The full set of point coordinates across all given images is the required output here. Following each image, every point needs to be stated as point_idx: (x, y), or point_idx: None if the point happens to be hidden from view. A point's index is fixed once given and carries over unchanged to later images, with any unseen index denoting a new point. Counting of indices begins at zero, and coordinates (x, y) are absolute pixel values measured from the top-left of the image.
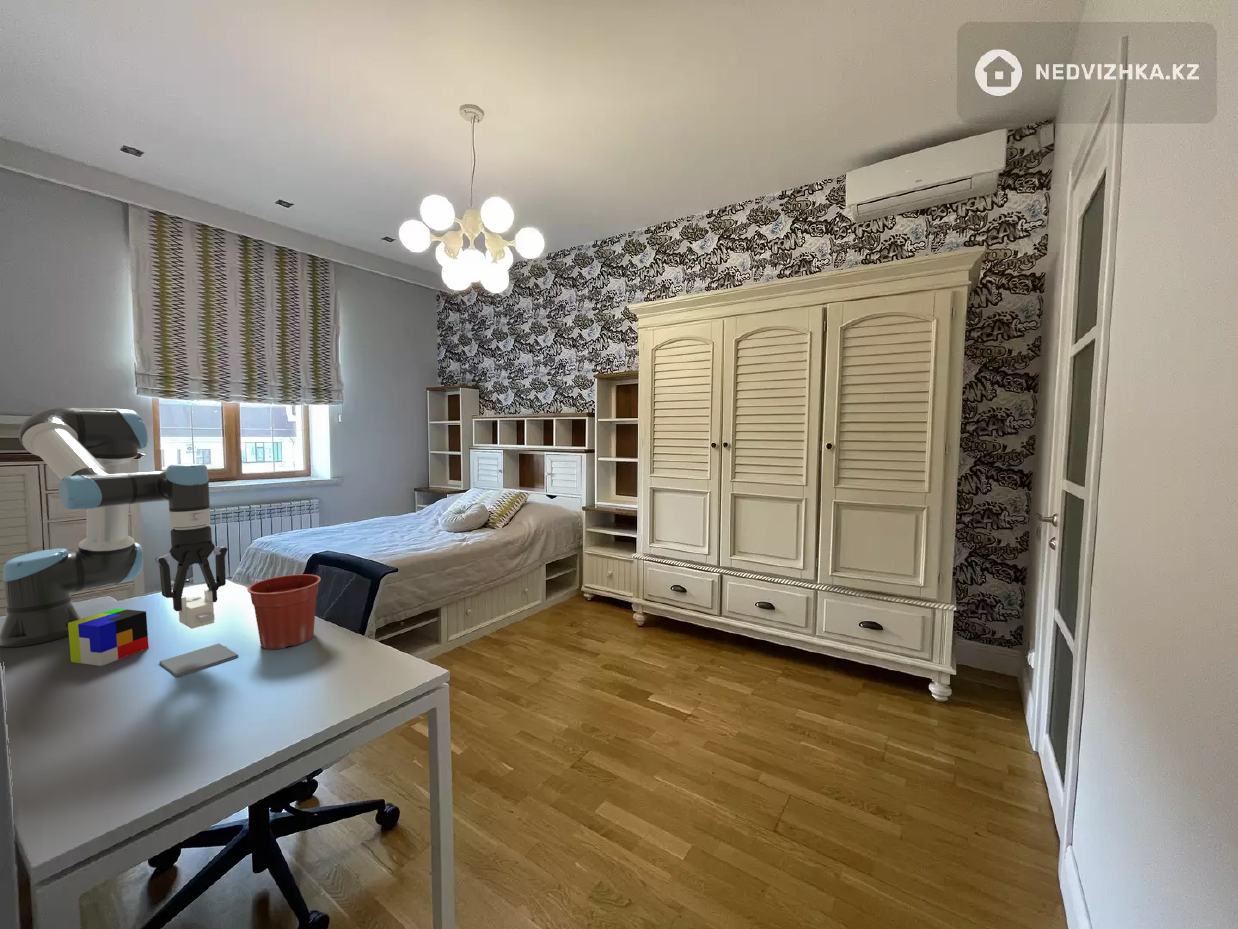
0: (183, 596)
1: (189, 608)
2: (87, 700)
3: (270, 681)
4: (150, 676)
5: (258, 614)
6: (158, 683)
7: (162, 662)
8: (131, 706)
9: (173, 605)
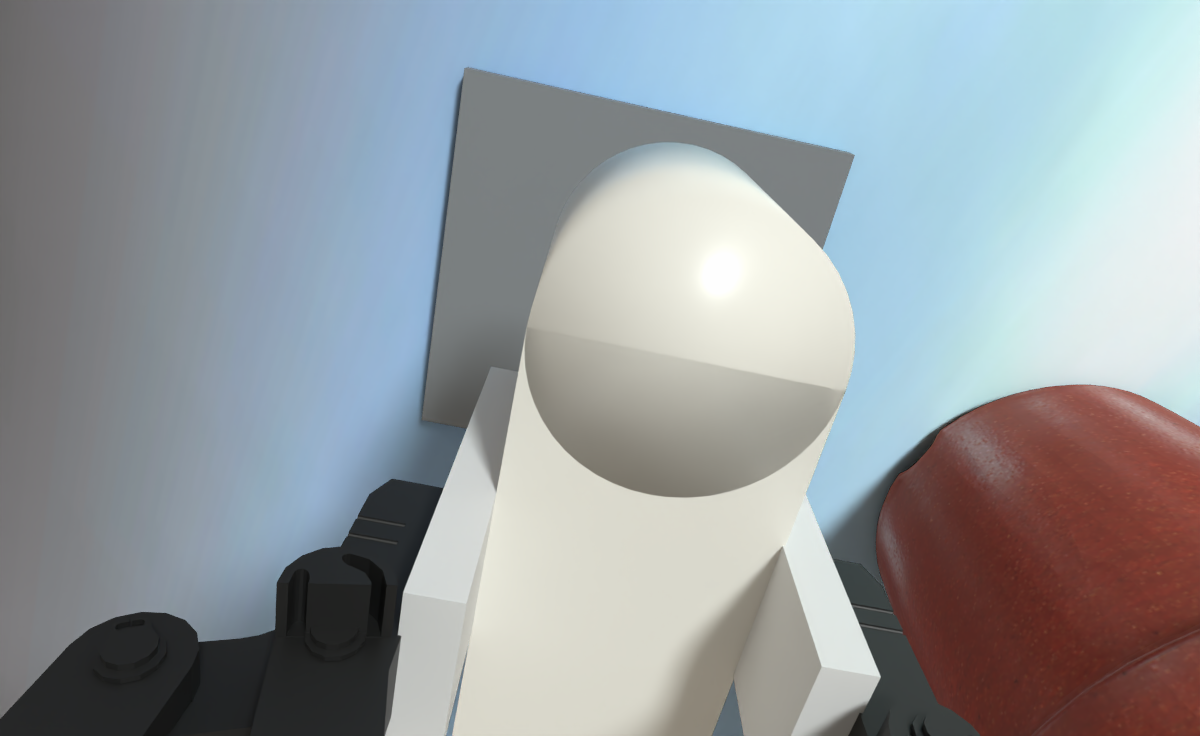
0: (438, 695)
1: (458, 705)
2: (32, 243)
3: None
4: (349, 244)
5: (963, 715)
6: (337, 394)
7: (465, 120)
8: (173, 528)
9: (350, 537)
